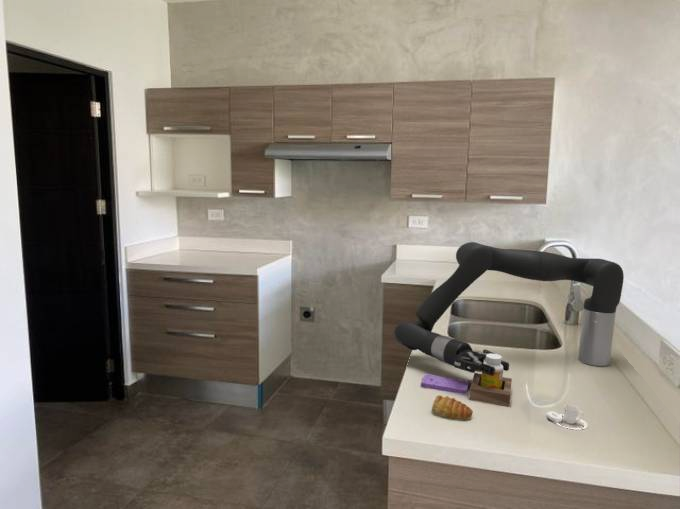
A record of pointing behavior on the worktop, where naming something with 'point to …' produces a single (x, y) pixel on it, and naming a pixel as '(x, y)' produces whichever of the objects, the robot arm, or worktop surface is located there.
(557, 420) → the teacup and saucer
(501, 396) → the bottle holder
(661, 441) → the worktop surface
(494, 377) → the supplement bottle
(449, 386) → the sponges
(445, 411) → the pastry
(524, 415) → the worktop surface
